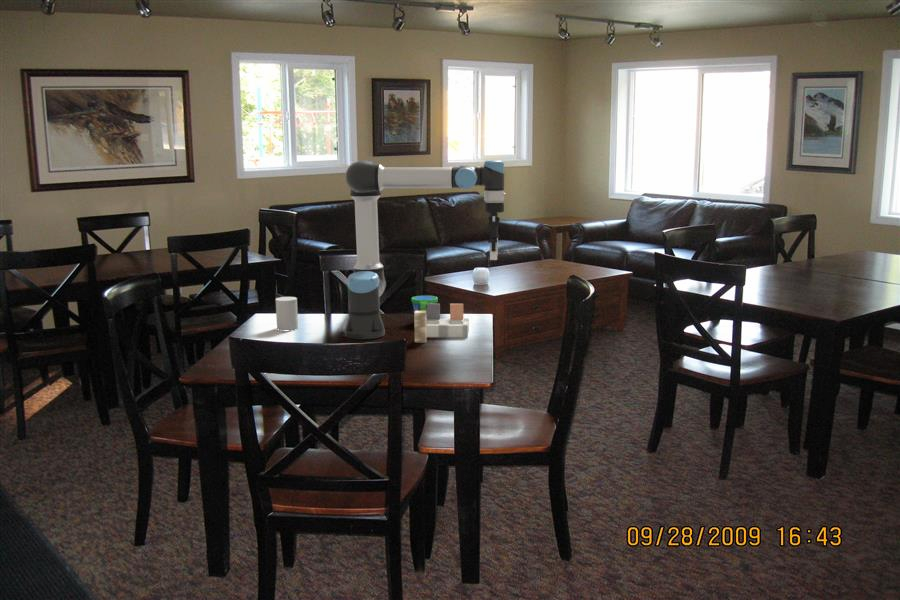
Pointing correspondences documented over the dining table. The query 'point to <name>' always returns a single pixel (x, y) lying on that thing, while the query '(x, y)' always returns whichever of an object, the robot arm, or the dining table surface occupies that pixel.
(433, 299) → the snack cup
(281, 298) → the white cylinder
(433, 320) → the socket block
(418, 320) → the cream tall block
